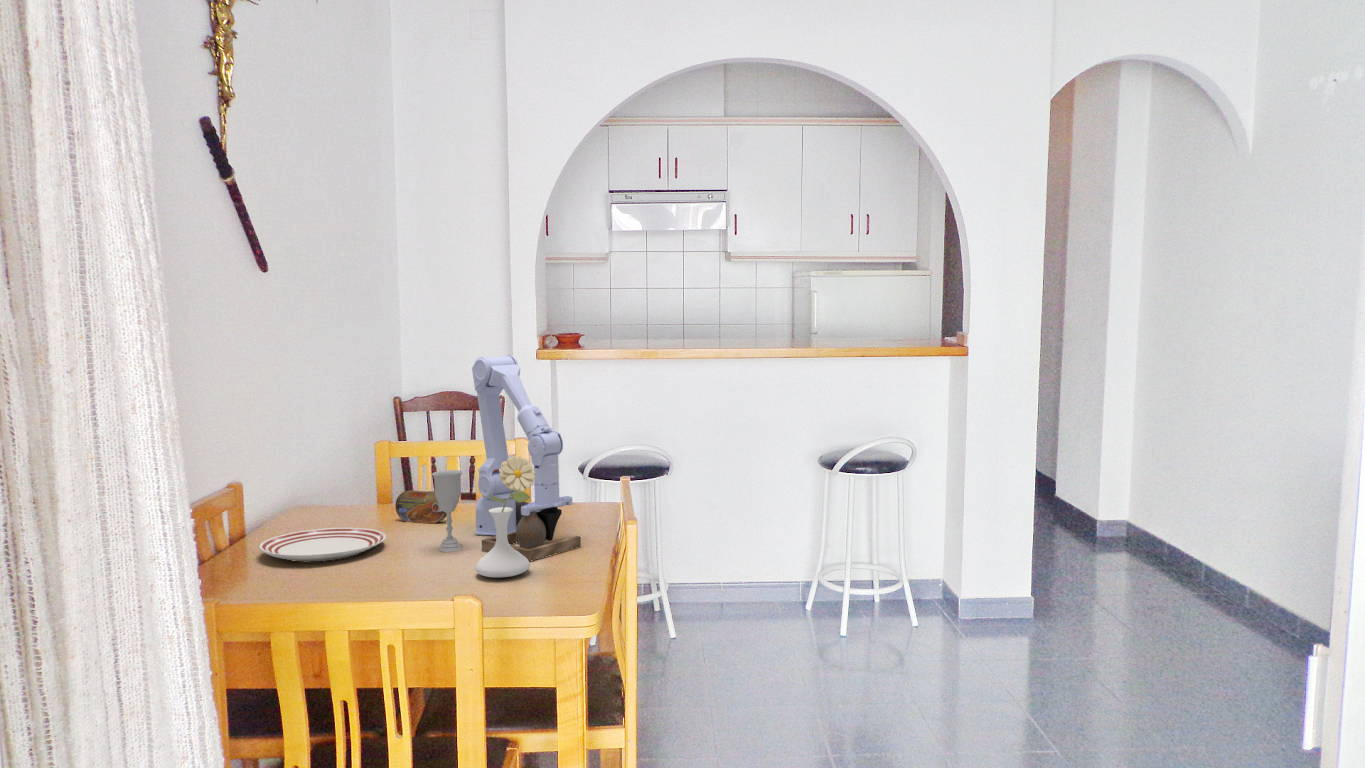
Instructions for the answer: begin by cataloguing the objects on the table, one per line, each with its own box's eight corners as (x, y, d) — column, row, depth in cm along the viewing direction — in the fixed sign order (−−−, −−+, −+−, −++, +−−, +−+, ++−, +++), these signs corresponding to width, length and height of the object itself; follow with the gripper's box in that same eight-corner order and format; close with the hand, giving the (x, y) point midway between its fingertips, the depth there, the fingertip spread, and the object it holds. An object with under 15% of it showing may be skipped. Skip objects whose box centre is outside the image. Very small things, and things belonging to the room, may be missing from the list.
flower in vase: (477, 584, 185) (472, 462, 183) (473, 569, 196) (469, 454, 194) (541, 578, 189) (538, 458, 187) (534, 563, 200) (531, 450, 198)
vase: (549, 544, 216) (548, 507, 215) (542, 552, 209) (541, 514, 208) (521, 544, 217) (519, 507, 216) (512, 552, 210) (511, 514, 209)
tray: (529, 562, 201) (528, 551, 201) (481, 550, 212) (481, 540, 211) (580, 547, 213) (580, 536, 213) (533, 536, 224) (533, 526, 224)
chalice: (456, 553, 209) (453, 476, 208) (429, 552, 211) (426, 475, 209) (470, 545, 216) (467, 470, 215) (443, 544, 218) (440, 469, 216)
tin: (395, 521, 243) (393, 490, 242) (402, 519, 246) (400, 488, 245) (445, 524, 238) (443, 492, 238) (451, 522, 241) (450, 490, 241)
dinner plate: (334, 533, 232) (334, 520, 231) (411, 546, 218) (410, 532, 217) (233, 559, 208) (233, 545, 208) (312, 576, 194) (311, 560, 194)
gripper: (534, 490, 207) (536, 548, 208) (580, 480, 218) (582, 536, 219) (514, 486, 212) (516, 544, 213) (560, 477, 223) (562, 531, 224)
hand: (548, 539), depth 216 cm, fingers closed
